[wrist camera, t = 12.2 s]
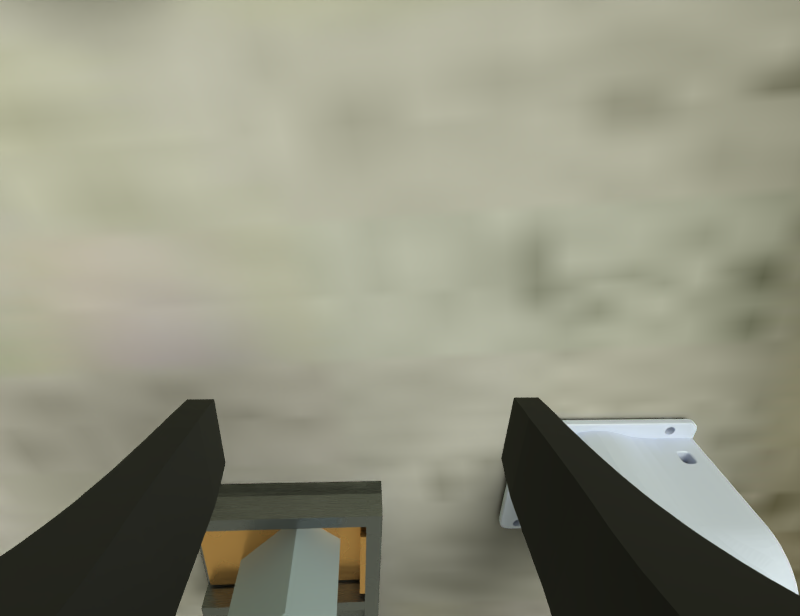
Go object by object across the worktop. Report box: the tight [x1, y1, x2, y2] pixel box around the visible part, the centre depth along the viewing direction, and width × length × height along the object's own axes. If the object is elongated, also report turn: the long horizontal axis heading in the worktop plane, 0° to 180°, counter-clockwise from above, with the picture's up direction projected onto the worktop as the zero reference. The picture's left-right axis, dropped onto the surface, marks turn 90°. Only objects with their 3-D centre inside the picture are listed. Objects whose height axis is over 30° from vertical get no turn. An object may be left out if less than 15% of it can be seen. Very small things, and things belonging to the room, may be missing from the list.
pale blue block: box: [228, 528, 340, 616], centre depth 24 cm, size 3×5×5 cm, turn 134°
